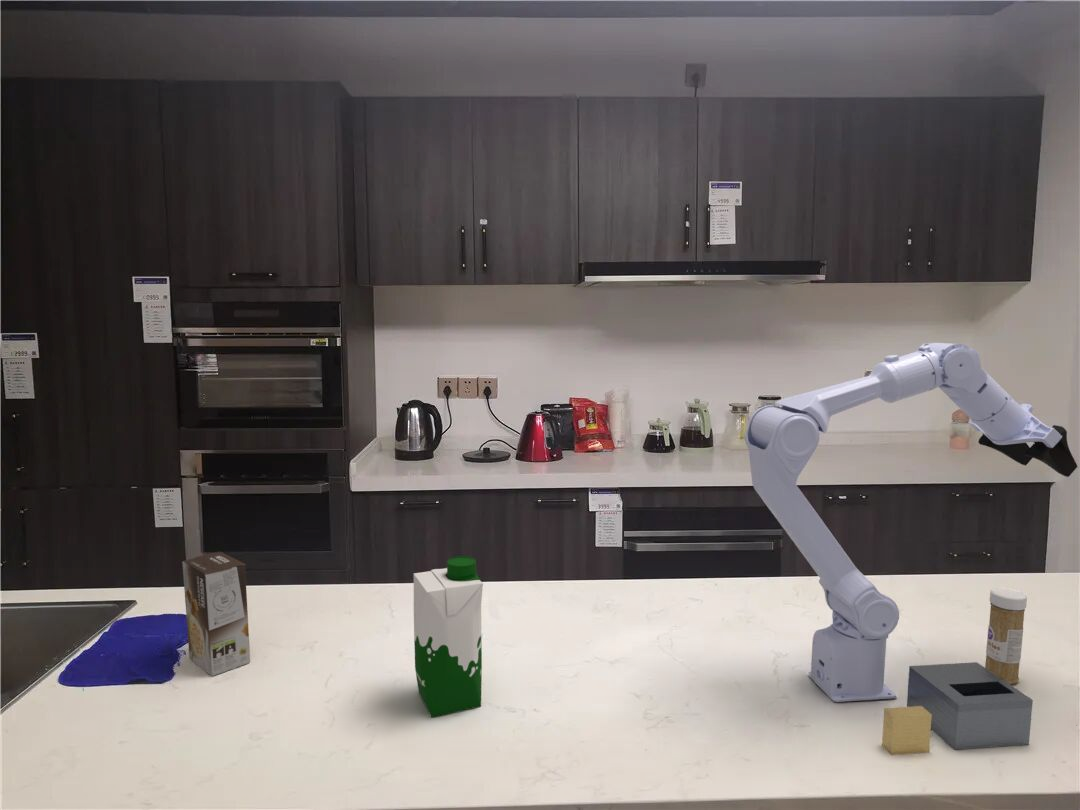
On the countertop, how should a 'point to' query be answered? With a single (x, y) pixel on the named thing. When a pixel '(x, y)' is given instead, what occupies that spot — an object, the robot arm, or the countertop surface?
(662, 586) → the countertop surface
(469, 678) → the milk carton
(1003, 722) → the box
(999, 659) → the sprinkles bottle
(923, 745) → the block
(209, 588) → the coffee box
